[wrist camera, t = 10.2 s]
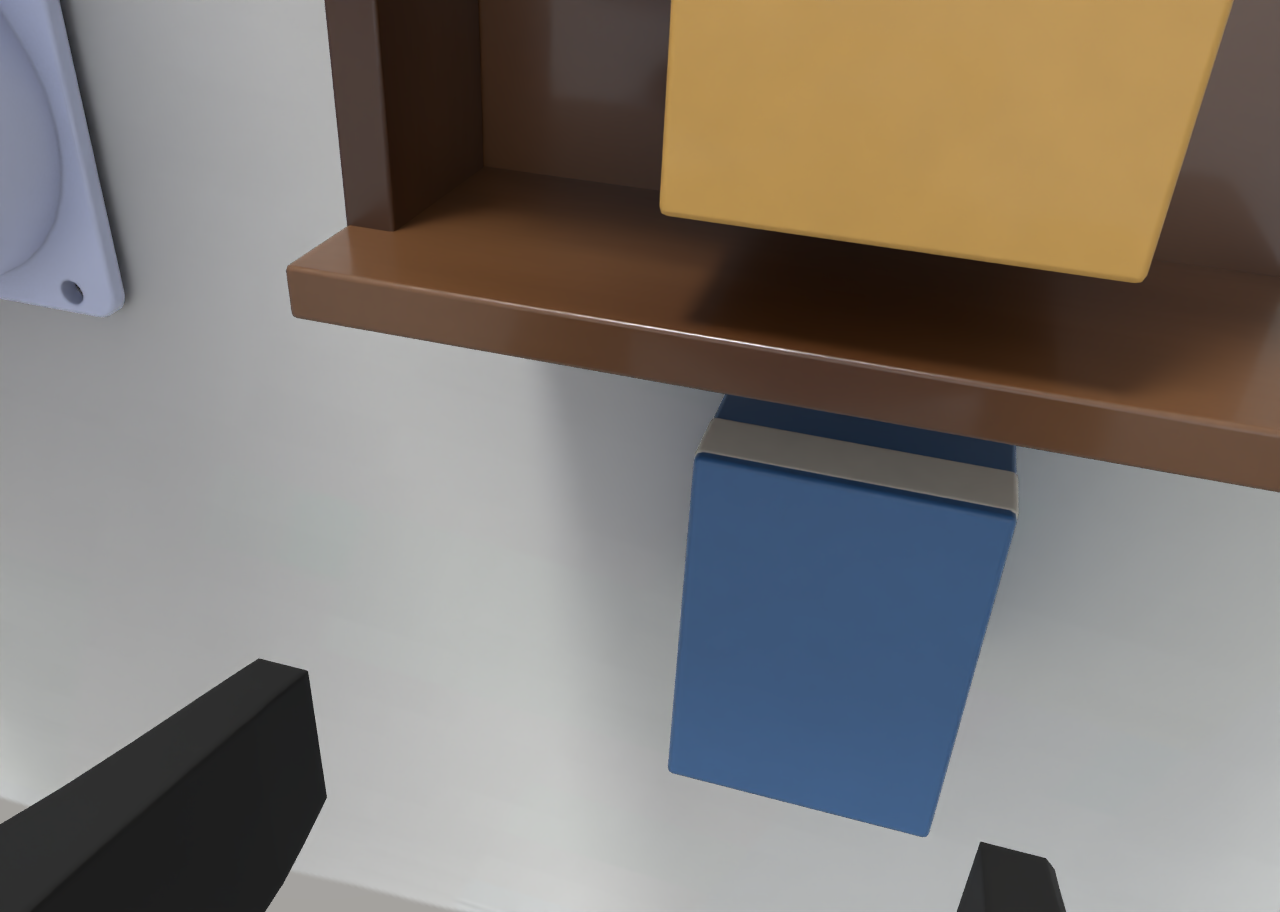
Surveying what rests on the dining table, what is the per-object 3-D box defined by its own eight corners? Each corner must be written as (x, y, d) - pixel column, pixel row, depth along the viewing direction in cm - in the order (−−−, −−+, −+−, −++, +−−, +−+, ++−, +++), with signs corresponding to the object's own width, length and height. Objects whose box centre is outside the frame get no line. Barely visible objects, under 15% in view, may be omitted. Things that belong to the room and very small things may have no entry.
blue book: (727, 596, 23) (665, 774, 19) (759, 314, 19) (691, 456, 15) (944, 644, 22) (929, 842, 18) (1018, 356, 18) (1020, 519, 14)
